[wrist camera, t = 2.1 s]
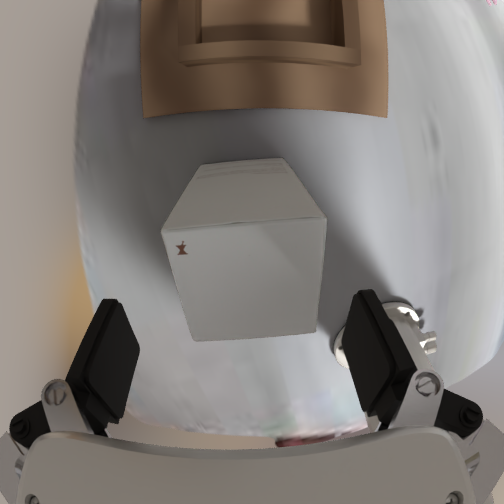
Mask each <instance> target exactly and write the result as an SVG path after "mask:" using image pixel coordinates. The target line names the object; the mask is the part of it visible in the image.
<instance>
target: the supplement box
mask: <svg viewBox="0 0 504 504" xmlns="http://www.w3.org/2000/svg"><path fill="white" fill-rule="evenodd" d="M326 231H327V217H326V216H325V214H324V213H323V212H322V210H321V209H320V208H319V207H318V205H317V204H316V202H315V201H314V200H313V198H312V197H311V195H310V194H309V192H308V191H307V190H306V188H305V187H304V185H303V184H302V182H301V181H300V180H299V178H298V177H297V175H296V174H295V173H294V171H293V170H292V168H291V167H290V166H289V165H288V163H287V162H286V161H285V160H284V158H269V159H254V160H242V161H231V162H222V163H213V164H204V165H200V167H199V168H198V170H197V171H196V173H195V174H194V176H193V177H192V179H191V181H190V182H189V184H188V185H187V187H186V189H185V190H184V192H183V193H182V195H181V197H180V198H179V200H178V202H177V203H176V205H175V207H174V208H173V210H172V211H171V213H170V215H169V217H168V218H167V220H166V222H165V223H164V225H163V227H162V229H161V235H162V238H163V242H164V245H165V249H166V253H167V256H168V260H169V263H170V267H171V270H172V273H173V277H174V280H175V284H176V287H177V291H178V294H179V298H180V301H181V304H182V308H183V311H184V314H185V317H186V320H187V324H188V327H189V330H190V333H191V336H192V338H193V340H194V341H218V340H236V339H252V338H265V337H276V336H287V335H297V334H307V333H314V332H316V325H317V316H318V306H319V298H320V290H321V282H322V273H323V263H324V253H325V243H326Z"/></svg>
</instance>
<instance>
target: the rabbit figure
mask: <svg viewBox="0 0 504 504" xmlns="http://www.w3.org/2000/svg"><path fill="white" fill-rule="evenodd" d="M486 1H487V2H488V4H489V5H490V6H491V2H490V0H486ZM492 1H493V3H494V4H495V5H496V4H497V0H492Z"/></svg>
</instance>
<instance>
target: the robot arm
mask: <svg viewBox="0 0 504 504" xmlns="http://www.w3.org/2000/svg"><path fill="white" fill-rule="evenodd" d="M435 340H436V332H435V331H432V332H427V333H424V334H423V333H422V332H421V331H420V329H419V317H418V315H417V314H416V312H415V310H414V309H413V308H412V307H411V306H409V305H408V304H405V303H401V302H391V303H384V304H381V302H380V301H379V299H378V297H377V295H376V294H375V292H374V290H372V289H368V290H359V291H358V293H357V294H355V295H354V296H353V300H352V304H351V307H350V311H349V315H348V318H347V322H346V325H345V326H344V328H343V329H342V330H341V331H340V332H339V334H338V336H337V337H336V340H335V343H334V354H335V358H336V360H337V362H338V363H339V364H340V365H341V366H343V367H345V368H348V369H350V372H351V376H352V379H353V382H354V385H355V388H356V392H357V395H358V398H359V401H360V405H361V408H362V410H363V412H364V414H365V417H366V421H367V424H368V428H369V431H370V433H369V434H364V435H360V436H355V437H350V438H344V439H339V440H333V441H328V442H322V443H315V444H308V445H300V446H291V447H281V448H268V449H248V450H211V449H190V448H177V447H167V446H158V445H150V444H143V443H137V442H131V441H125V440H119V439H114V438H112V437H111V435H110V433H109V431H108V430H107V424H108V422H110V423H115V424H118V423H119V419H120V418H122V417H123V415H124V411H125V406H126V402H127V398H128V394H129V390H130V386H131V382H132V378H133V375H134V371H135V367H136V364H137V360H138V357H139V353H140V347H139V344H138V341H137V339H136V337H135V335H134V332H133V330H132V328H131V325H130V323H129V321H128V318H127V316H126V313H125V311H124V308H123V306H122V304H121V303H119V302H118V300H117V299H103V300H102V301H101V303H100V305H99V307H98V309H97V311H96V313H95V315H94V317H93V319H92V321H91V323H90V325H89V327H88V329H87V332H86V334H85V336H84V338H83V340H82V342H81V344H80V346H79V349H78V351H77V353H76V356H75V358H74V360H73V362H72V365H71V367H70V369H69V372H68V374H67V377H66V379H65V380H62V379H54V380H51V381H50V382H48V383H47V384H46V385H45V386H44V388H43V390H42V394H41V399H42V400H41V401H39V402H37V403H36V404H34V405H32V406H30V407H29V408H27V409H25V410H23V411H22V412H20V413H18V414H17V415H15V416H14V417H13V419H12V420H11V423H10V428H9V429H10V433H8V432H7V431H6V433H5V434H4V435H3V436H2V437H1V438H0V491H1V493H2V494H3V496H4V497H5V499H6V500H7V502H8V503H9V504H494V501H493V496H492V493H491V491H492V490H493V488H494V487H495V485H496V483H497V482H498V480H499V478H500V477H501V475H502V473H503V471H504V434H503V433H502V432H501V431H500V430H499V429H498V428H497V427H496V426H494V425H493V424H492V423H491V422H490V421H489V420H488V419H486V420H485V421H484V420H483V414H482V411H481V408H480V407H479V406H478V405H477V404H476V403H474V402H473V401H470V400H468V399H466V398H464V397H461V396H459V395H457V394H454V393H452V392H450V391H448V390H446V389H444V383H443V380H442V378H441V377H440V375H439V374H438V373H437V372H435V371H434V369H433V367H432V365H431V363H430V361H429V359H428V357H427V355H426V354H430V353H434V352H435V351H436V349H437V344H436V342H435Z"/></svg>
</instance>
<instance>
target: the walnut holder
mask: <svg viewBox="0 0 504 504" xmlns="http://www.w3.org/2000/svg"><path fill="white" fill-rule="evenodd" d="M140 62H141V89H142V106H143V118H149V117H155V116H162V115H170V114H178V113H187V112H197V111H208V110H223V109H246V108H288V109H311V110H326V111H338V112H348V113H356V114H364V115H372V116H378V117H385V118H387V112H388V48H387V31H386V19H385V9H384V1H383V0H141V24H140Z"/></svg>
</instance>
